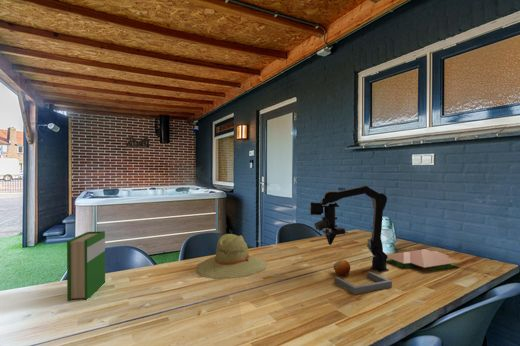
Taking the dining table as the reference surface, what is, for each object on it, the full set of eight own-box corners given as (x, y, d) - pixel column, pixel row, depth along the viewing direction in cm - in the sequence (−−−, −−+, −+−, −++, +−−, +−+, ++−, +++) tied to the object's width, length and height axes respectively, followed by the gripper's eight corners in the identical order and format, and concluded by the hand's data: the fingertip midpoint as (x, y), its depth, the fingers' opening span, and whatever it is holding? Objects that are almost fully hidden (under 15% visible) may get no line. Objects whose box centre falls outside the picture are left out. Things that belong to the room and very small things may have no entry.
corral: (369, 276, 137) (369, 271, 137) (391, 286, 124) (391, 281, 124) (334, 282, 130) (334, 277, 130) (354, 294, 117) (354, 288, 117)
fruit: (355, 274, 136) (346, 259, 136) (340, 282, 137) (331, 267, 138) (353, 269, 143) (344, 255, 144) (339, 276, 145) (331, 262, 146)
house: (464, 267, 151) (464, 252, 151) (417, 275, 140) (417, 258, 140) (426, 255, 172) (426, 242, 172) (382, 261, 161) (382, 247, 161)
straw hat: (278, 260, 164) (277, 230, 164) (245, 285, 128) (245, 247, 128) (222, 253, 180) (222, 226, 180) (180, 273, 144) (179, 240, 144)
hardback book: (87, 300, 113) (87, 240, 113) (67, 301, 112) (67, 240, 112) (105, 283, 131) (104, 231, 131) (87, 284, 130) (87, 231, 130)
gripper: (307, 213, 156) (307, 242, 156) (327, 218, 138) (327, 250, 138) (324, 212, 160) (324, 240, 160) (345, 217, 142) (346, 248, 142)
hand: (330, 244), depth 150 cm, fingers closed
